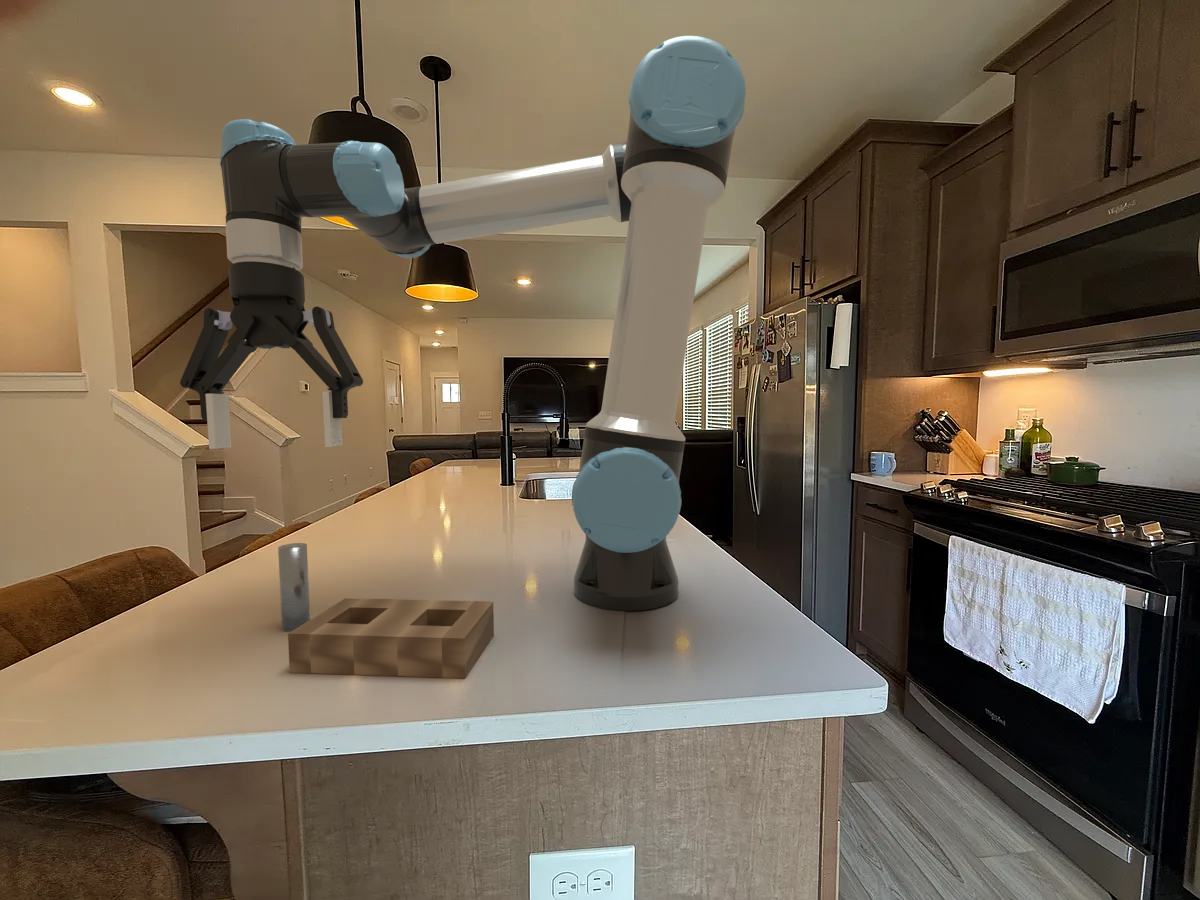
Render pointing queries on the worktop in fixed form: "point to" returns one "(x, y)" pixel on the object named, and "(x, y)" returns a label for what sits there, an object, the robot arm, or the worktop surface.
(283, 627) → the peg
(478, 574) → the worktop surface
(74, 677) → the worktop surface
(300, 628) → the socket block
